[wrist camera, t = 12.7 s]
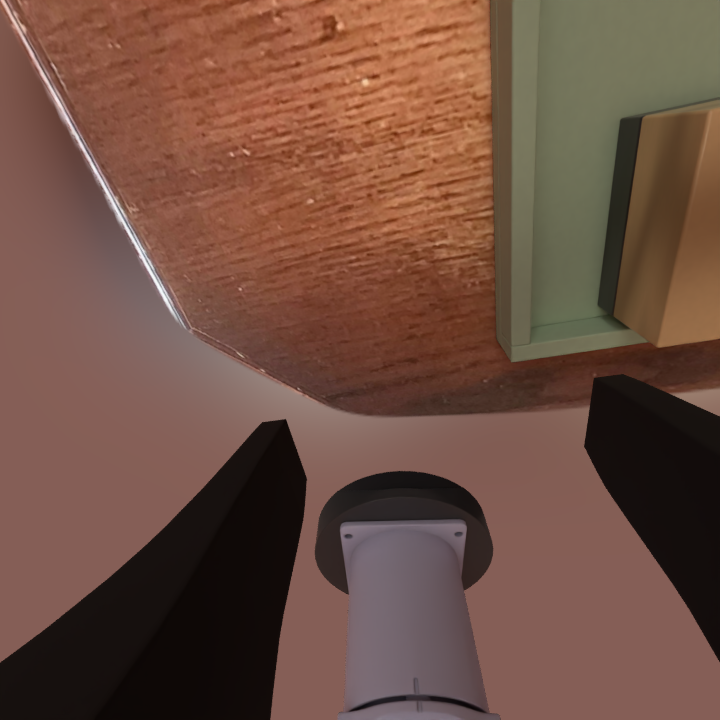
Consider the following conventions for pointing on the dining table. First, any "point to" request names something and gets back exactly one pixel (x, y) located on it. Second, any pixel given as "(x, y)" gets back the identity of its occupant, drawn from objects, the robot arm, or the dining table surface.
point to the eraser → (666, 226)
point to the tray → (576, 149)
